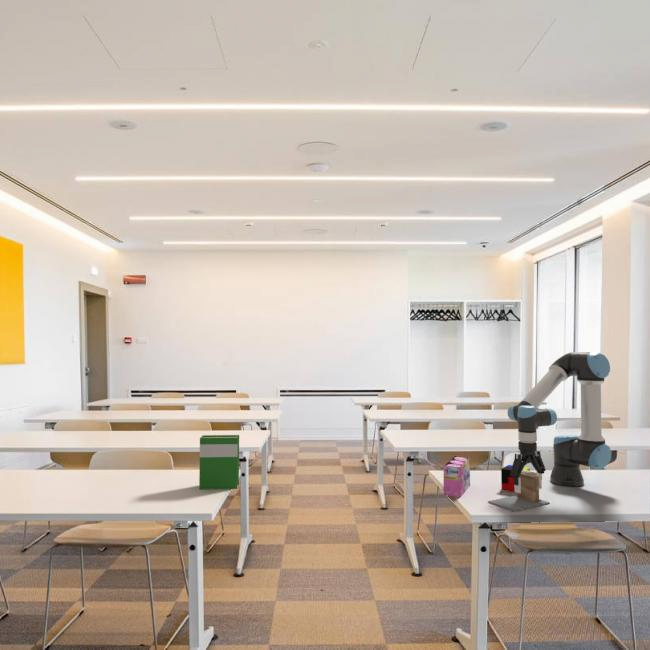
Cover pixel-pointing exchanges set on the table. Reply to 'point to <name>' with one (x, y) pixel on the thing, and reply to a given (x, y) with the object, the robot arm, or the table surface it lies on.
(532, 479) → the slab
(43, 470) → the table surface
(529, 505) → the mat
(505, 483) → the puzzle toy
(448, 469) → the gum box
